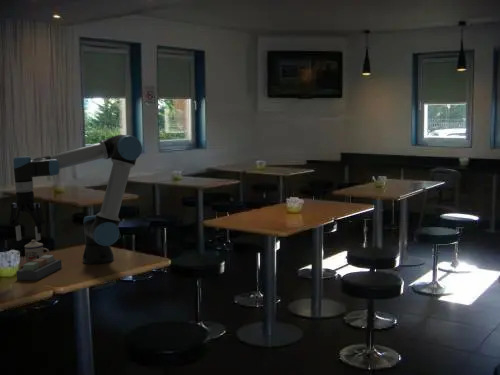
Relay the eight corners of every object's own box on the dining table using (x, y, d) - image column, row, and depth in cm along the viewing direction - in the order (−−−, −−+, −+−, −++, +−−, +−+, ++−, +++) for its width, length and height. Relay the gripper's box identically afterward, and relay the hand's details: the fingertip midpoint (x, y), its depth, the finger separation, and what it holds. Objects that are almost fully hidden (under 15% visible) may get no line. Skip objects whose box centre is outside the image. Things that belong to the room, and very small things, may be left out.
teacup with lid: (22, 265, 314) (20, 242, 312) (30, 260, 323) (28, 238, 321) (46, 264, 313) (44, 241, 311) (53, 260, 322) (51, 237, 320)
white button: (54, 262, 304) (54, 255, 303) (49, 265, 299) (48, 257, 299) (45, 262, 305) (44, 255, 304) (40, 264, 300) (39, 257, 300)
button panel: (61, 267, 305) (61, 259, 305) (37, 280, 284) (36, 271, 283) (42, 267, 307) (42, 259, 307) (17, 279, 286) (16, 271, 286)
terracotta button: (47, 266, 297) (46, 258, 297) (41, 268, 292) (40, 261, 292) (37, 266, 298) (37, 258, 298) (32, 268, 293) (31, 261, 293)
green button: (39, 270, 290) (38, 262, 290) (33, 272, 286) (32, 265, 285) (29, 269, 291) (28, 262, 291) (23, 272, 287) (23, 264, 286)
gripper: (-2, 192, 283) (2, 241, 285) (42, 192, 278) (46, 242, 281) (7, 190, 290) (12, 238, 293) (50, 189, 285) (54, 238, 288)
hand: (28, 240), depth 287 cm, fingers open, 9 cm apart
